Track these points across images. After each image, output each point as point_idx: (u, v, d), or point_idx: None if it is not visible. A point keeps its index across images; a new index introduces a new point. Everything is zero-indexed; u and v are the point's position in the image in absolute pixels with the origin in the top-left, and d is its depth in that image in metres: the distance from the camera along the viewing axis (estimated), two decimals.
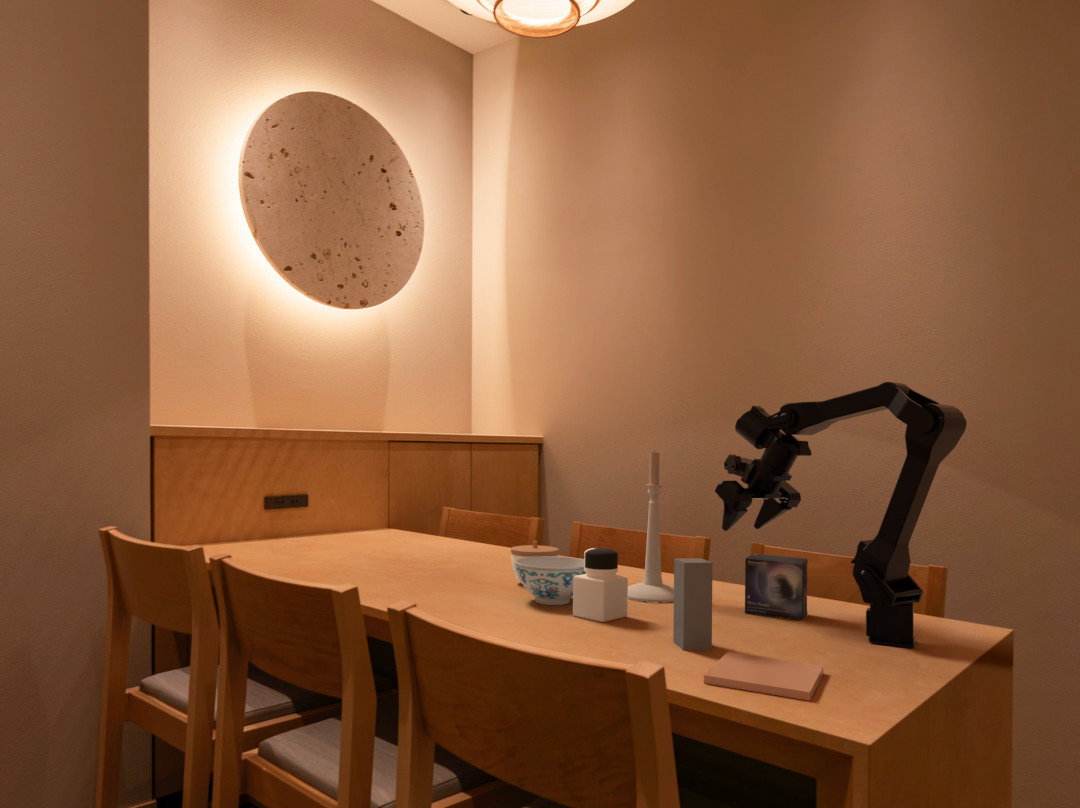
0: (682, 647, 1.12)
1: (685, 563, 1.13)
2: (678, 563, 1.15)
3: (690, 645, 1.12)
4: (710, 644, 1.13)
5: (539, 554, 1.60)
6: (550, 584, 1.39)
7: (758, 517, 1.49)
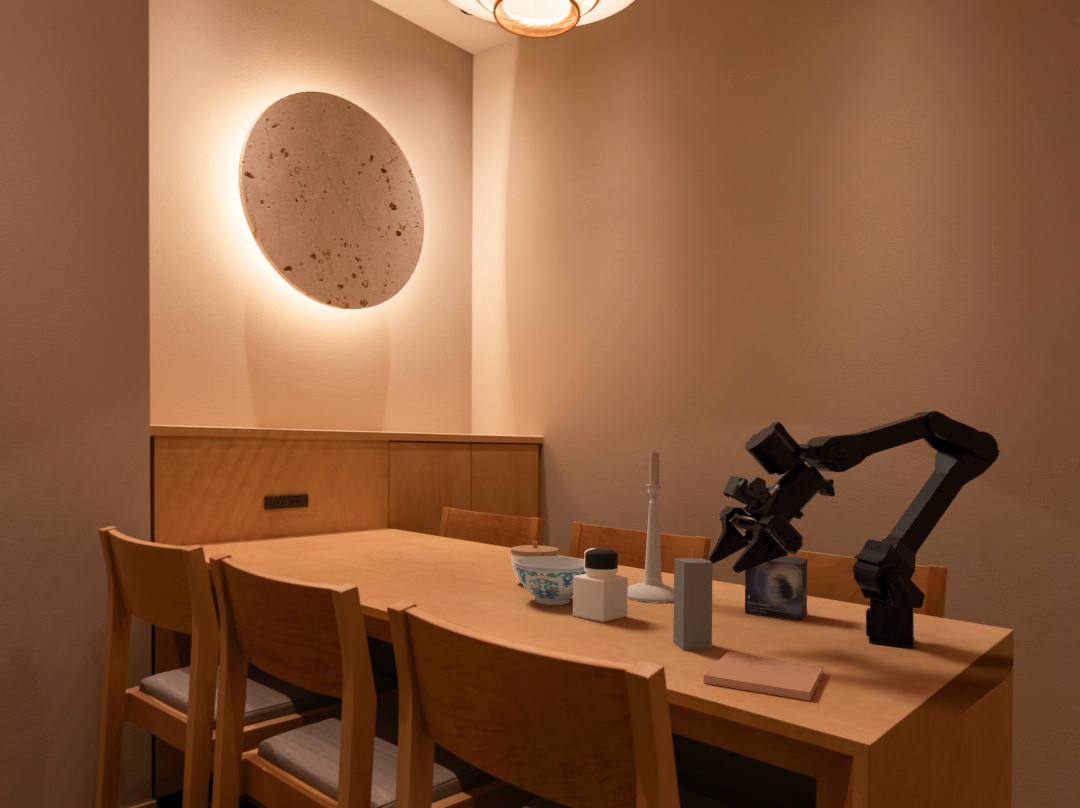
0: (682, 647, 1.12)
1: (685, 563, 1.13)
2: (678, 563, 1.15)
3: (690, 645, 1.12)
4: (710, 644, 1.13)
5: (539, 554, 1.60)
6: (550, 584, 1.39)
7: (716, 549, 1.21)
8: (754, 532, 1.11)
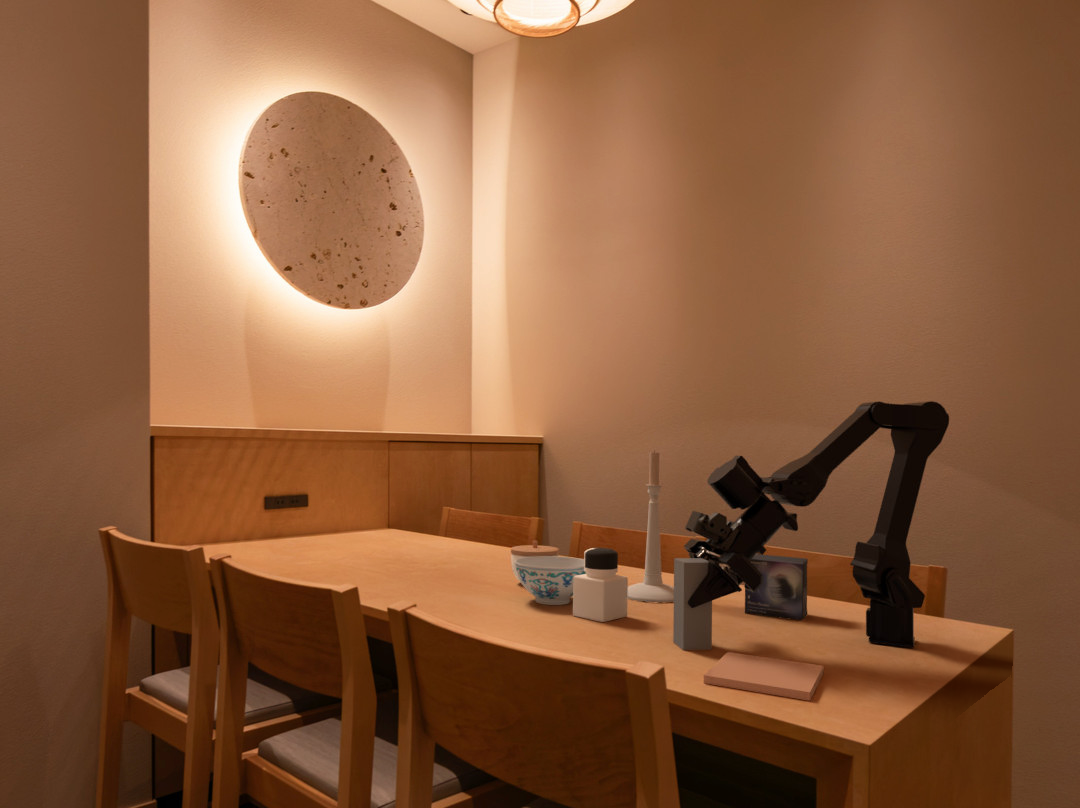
0: (682, 647, 1.12)
1: (685, 563, 1.13)
2: (678, 563, 1.15)
3: (690, 645, 1.12)
4: (710, 644, 1.13)
5: (539, 554, 1.60)
6: (550, 584, 1.39)
7: None
8: (709, 567, 1.12)
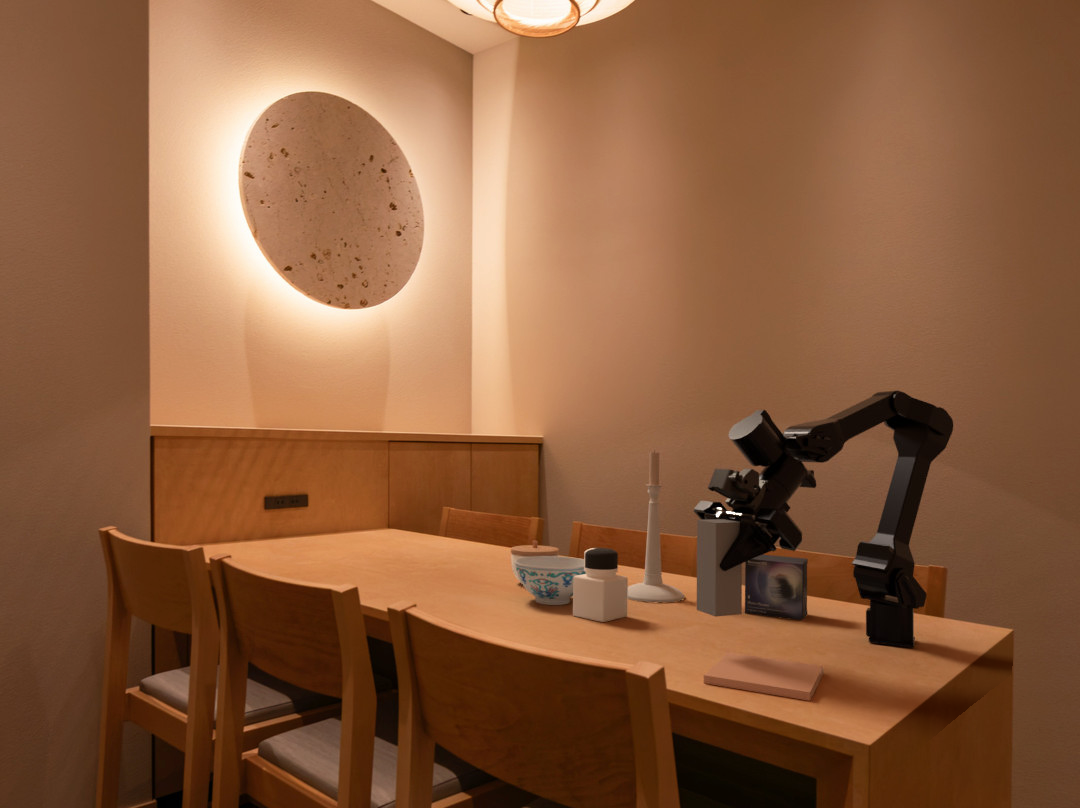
0: (713, 613, 1.04)
1: (716, 523, 1.05)
2: (705, 524, 1.07)
3: (722, 611, 1.05)
4: (740, 609, 1.06)
5: (539, 554, 1.60)
6: (550, 584, 1.39)
7: None
8: (741, 527, 1.05)
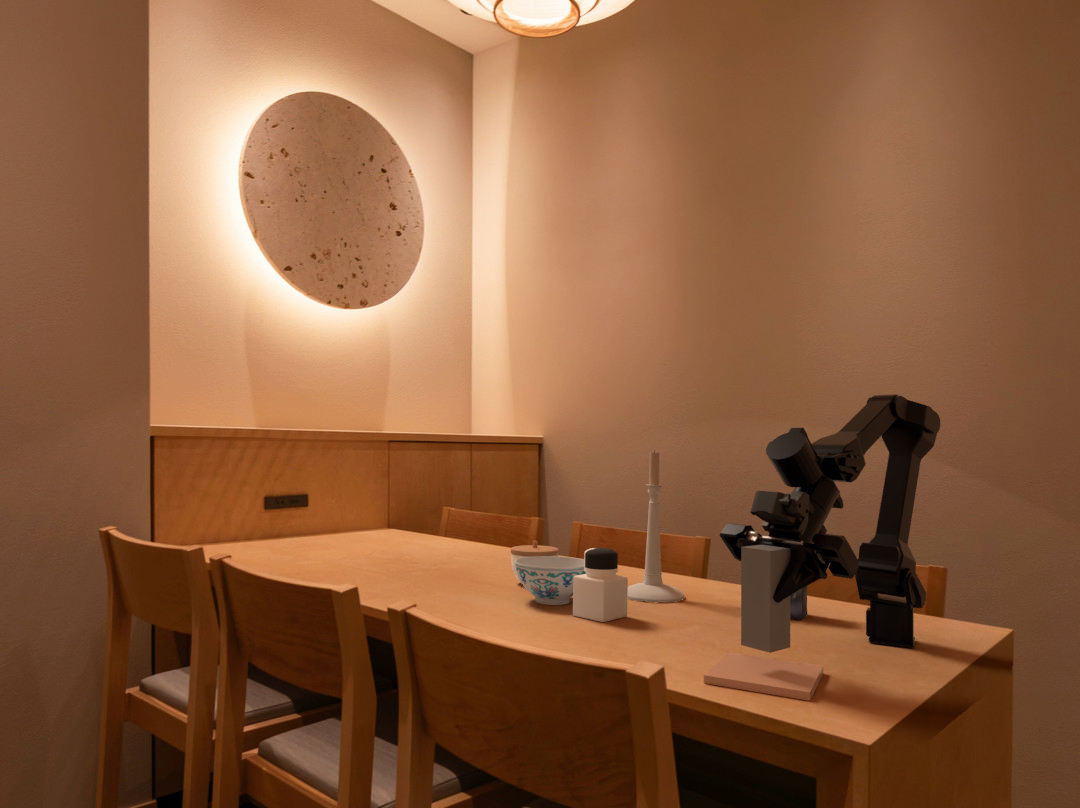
0: (767, 649, 0.96)
1: (770, 551, 0.97)
2: (753, 552, 0.99)
3: (775, 646, 0.97)
4: (789, 641, 0.99)
5: (539, 554, 1.60)
6: (550, 584, 1.39)
7: None
8: (793, 554, 0.98)
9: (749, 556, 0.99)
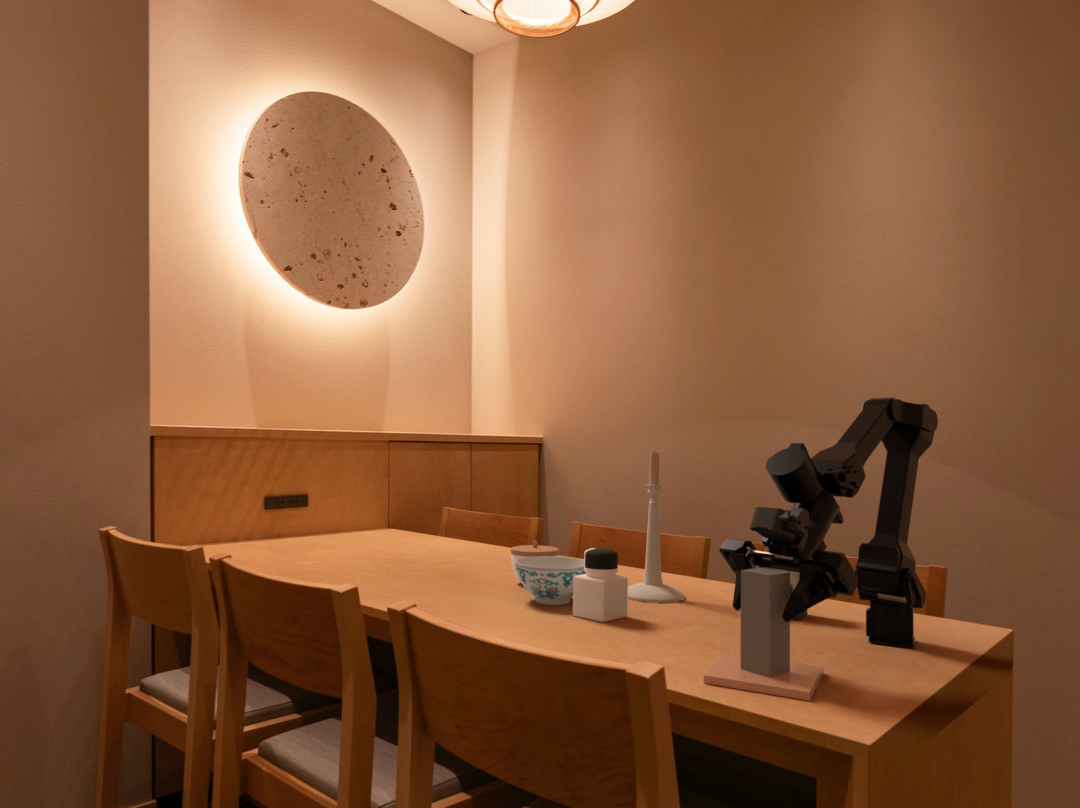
0: (766, 674, 0.96)
1: (770, 575, 0.97)
2: (753, 576, 0.98)
3: (774, 670, 0.96)
4: (788, 666, 0.98)
5: (539, 554, 1.60)
6: (550, 584, 1.39)
7: (739, 592, 1.02)
8: (802, 572, 0.97)
9: (749, 580, 0.99)
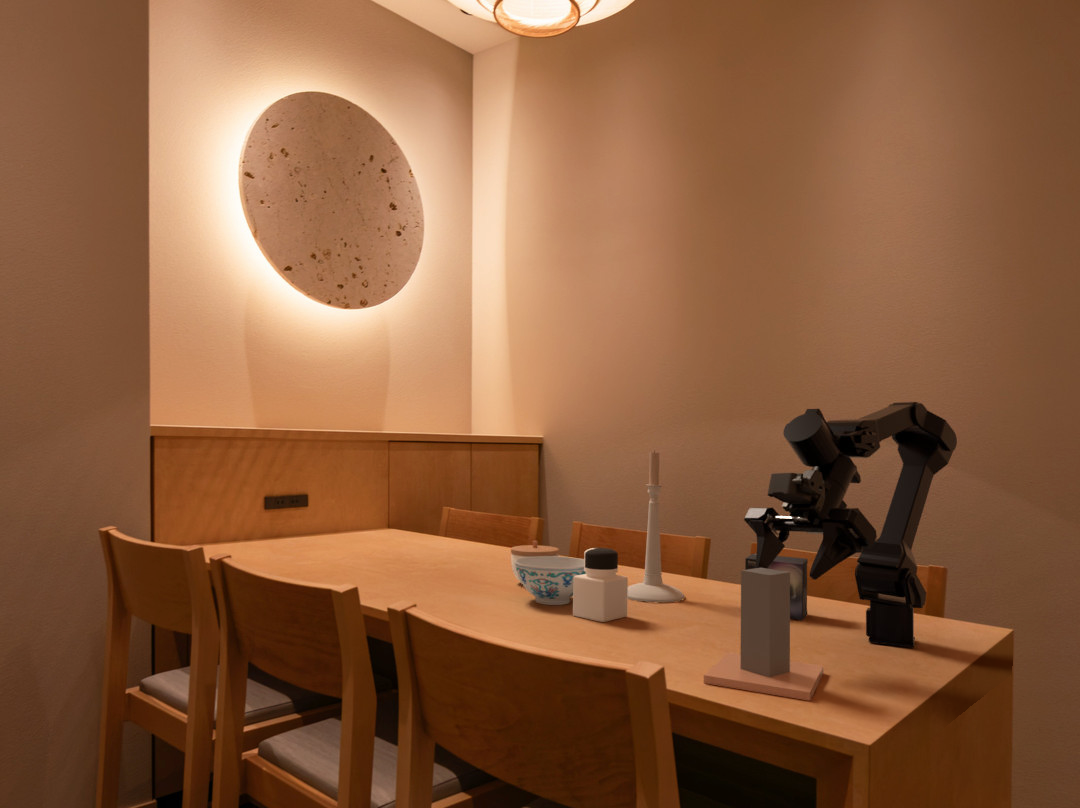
0: (766, 674, 0.96)
1: (770, 575, 0.97)
2: (753, 576, 0.98)
3: (774, 670, 0.96)
4: (788, 666, 0.98)
5: (539, 554, 1.60)
6: (550, 584, 1.39)
7: (761, 557, 1.08)
8: (825, 531, 1.00)
9: (749, 580, 0.99)
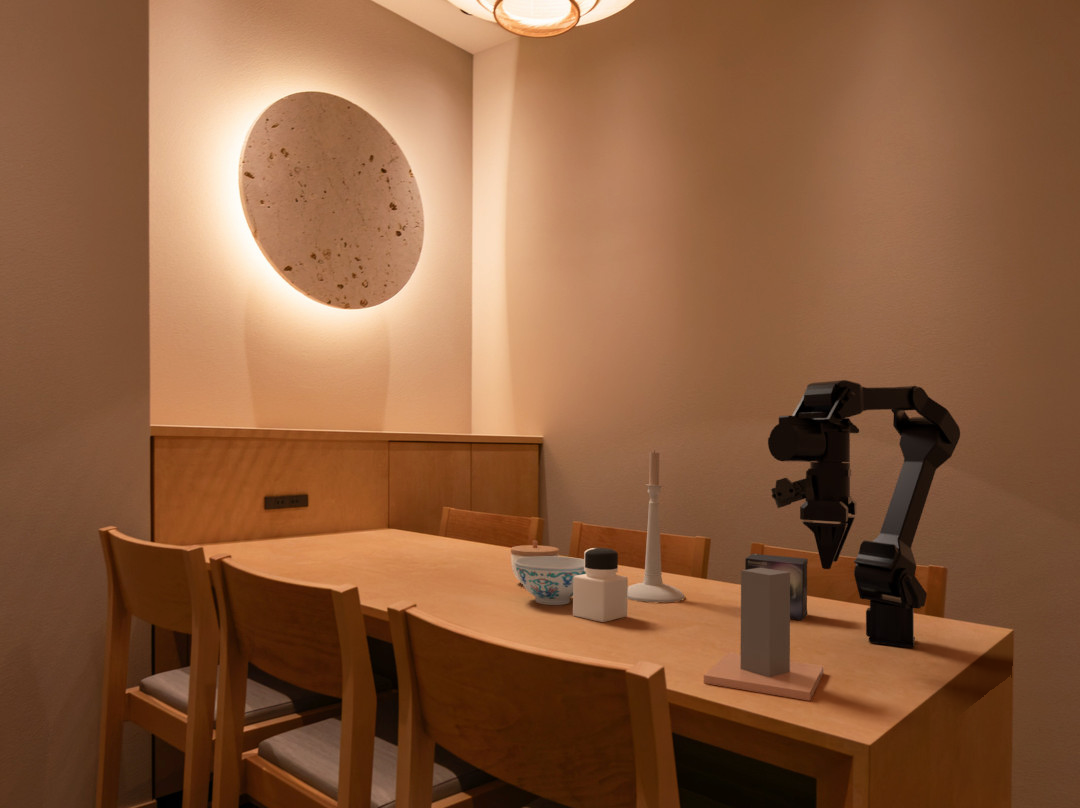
0: (766, 674, 0.96)
1: (770, 575, 0.97)
2: (753, 576, 0.98)
3: (774, 670, 0.96)
4: (788, 666, 0.98)
5: (539, 554, 1.60)
6: (550, 584, 1.39)
7: None
8: None
9: (749, 580, 0.99)
